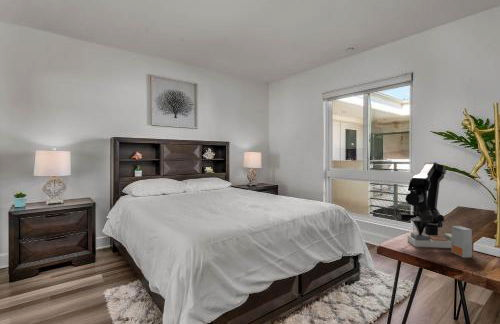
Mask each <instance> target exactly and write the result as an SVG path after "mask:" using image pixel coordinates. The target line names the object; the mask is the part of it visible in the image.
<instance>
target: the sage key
mask: <svg viewBox="0 0 500 324" xmlns="http://www.w3.org/2000/svg"><path fill="white" fill-rule="evenodd" d="M451 234H452V233H443V236H444V238H446V239H448V240H449V241H451Z"/></svg>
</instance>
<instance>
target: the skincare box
mask: <svg viewBox="0 0 500 324" xmlns="http://www.w3.org/2000/svg"><path fill="white" fill-rule="evenodd" d="M450 234H451V248H450V249H451V254H455V255H457V256H459V257H461V258H464V259H465V258H473V236H472V235H473V229H471V228H468V227H464V226H462V225H452V226H451V233H450Z"/></svg>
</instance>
